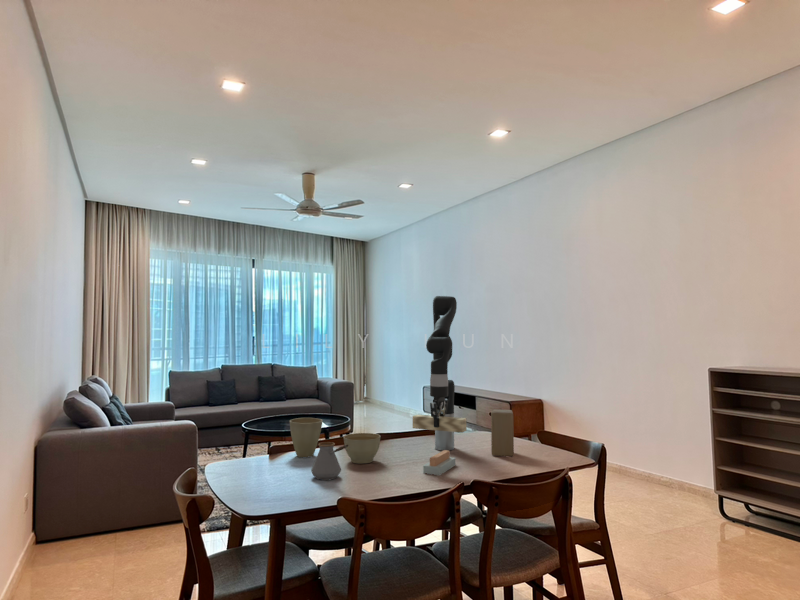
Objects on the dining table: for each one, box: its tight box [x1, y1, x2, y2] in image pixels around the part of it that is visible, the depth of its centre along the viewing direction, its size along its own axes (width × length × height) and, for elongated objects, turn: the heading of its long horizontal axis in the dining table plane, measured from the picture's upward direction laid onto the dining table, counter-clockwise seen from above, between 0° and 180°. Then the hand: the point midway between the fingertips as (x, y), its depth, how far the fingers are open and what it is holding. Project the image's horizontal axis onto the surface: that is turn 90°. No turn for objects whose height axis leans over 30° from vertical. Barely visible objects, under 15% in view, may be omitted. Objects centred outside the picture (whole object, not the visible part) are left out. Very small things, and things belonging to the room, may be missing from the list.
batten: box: [412, 414, 467, 434], centre depth 210 cm, size 22×5×5 cm, turn 64°
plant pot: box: [289, 417, 324, 458], centre depth 231 cm, size 15×15×16 cm
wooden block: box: [490, 408, 515, 458], centre depth 236 cm, size 10×10×20 cm
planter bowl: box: [343, 432, 381, 465], centre depth 221 cm, size 16×16×11 cm
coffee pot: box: [311, 441, 351, 481], centre depth 192 cm, size 21×12×15 cm, turn 38°
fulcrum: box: [422, 450, 456, 476], centre depth 209 cm, size 18×7×6 cm, turn 154°
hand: (439, 426), depth 210 cm, fingers closed on batten, 5 cm apart
